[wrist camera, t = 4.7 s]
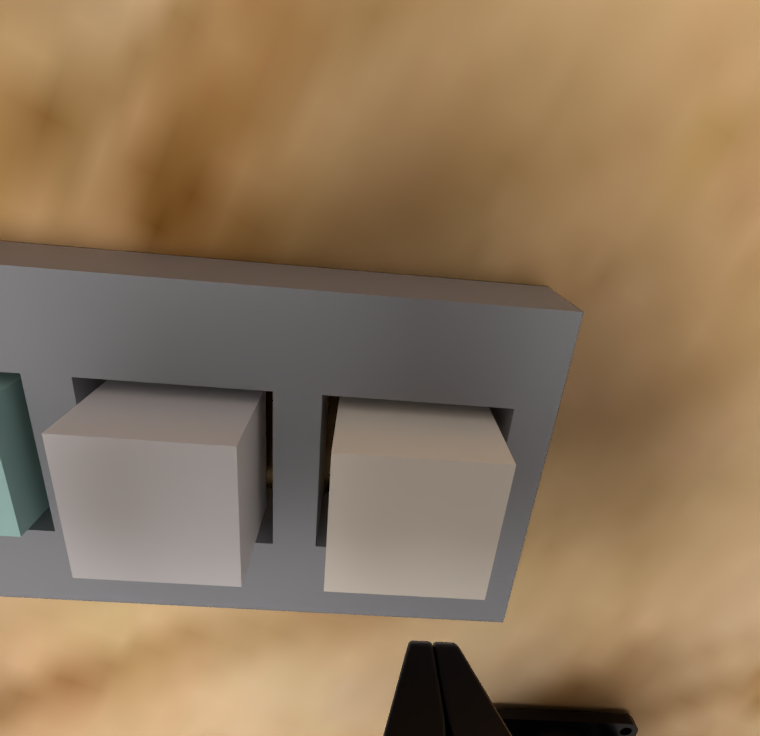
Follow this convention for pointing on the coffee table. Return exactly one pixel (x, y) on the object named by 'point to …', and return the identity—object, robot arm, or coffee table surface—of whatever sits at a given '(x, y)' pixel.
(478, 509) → the key
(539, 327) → the keyguard frame
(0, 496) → the key
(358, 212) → the coffee table surface
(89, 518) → the key
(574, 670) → the coffee table surface
